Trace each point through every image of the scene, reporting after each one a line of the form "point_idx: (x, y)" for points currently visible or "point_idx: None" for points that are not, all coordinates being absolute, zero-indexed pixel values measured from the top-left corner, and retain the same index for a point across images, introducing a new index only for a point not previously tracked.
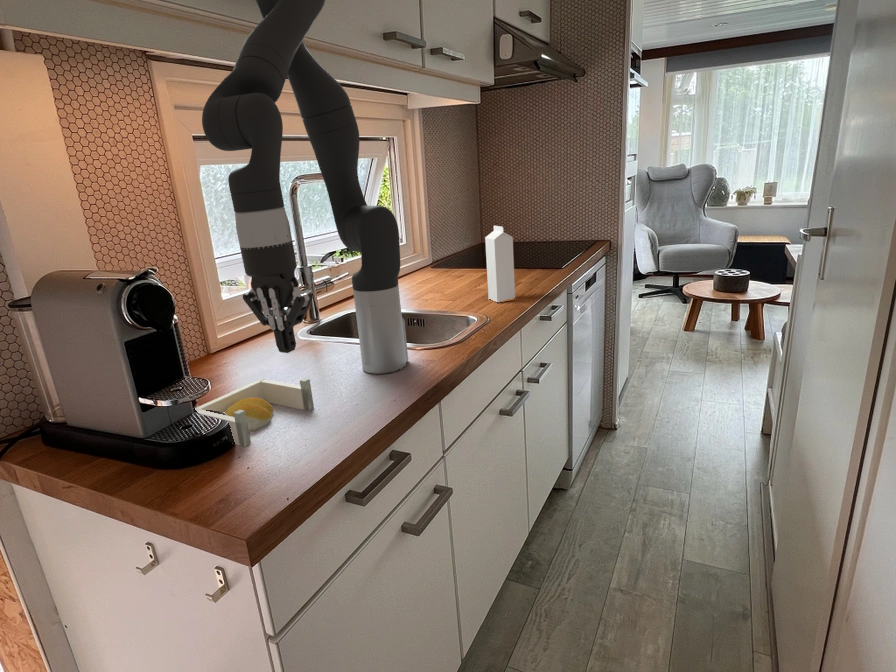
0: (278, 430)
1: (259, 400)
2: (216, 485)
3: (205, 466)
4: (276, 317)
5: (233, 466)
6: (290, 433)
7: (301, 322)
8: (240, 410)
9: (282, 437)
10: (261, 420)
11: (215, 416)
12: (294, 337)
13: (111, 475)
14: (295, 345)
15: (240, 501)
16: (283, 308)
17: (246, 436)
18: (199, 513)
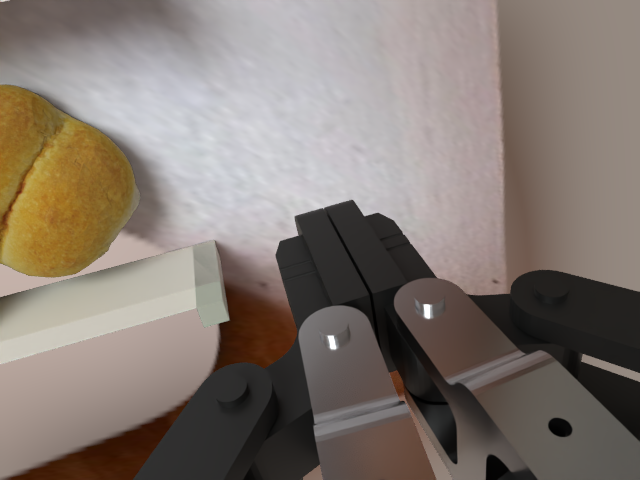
0: (197, 149)
1: (3, 151)
2: None
3: (237, 345)
4: (449, 469)
5: None
6: (252, 137)
7: (548, 271)
8: (205, 308)
9: (256, 166)
10: (133, 185)
11: (97, 332)
12: (413, 248)
13: (105, 472)
14: (384, 218)
15: None
16: (502, 472)
17: (219, 263)
18: None
